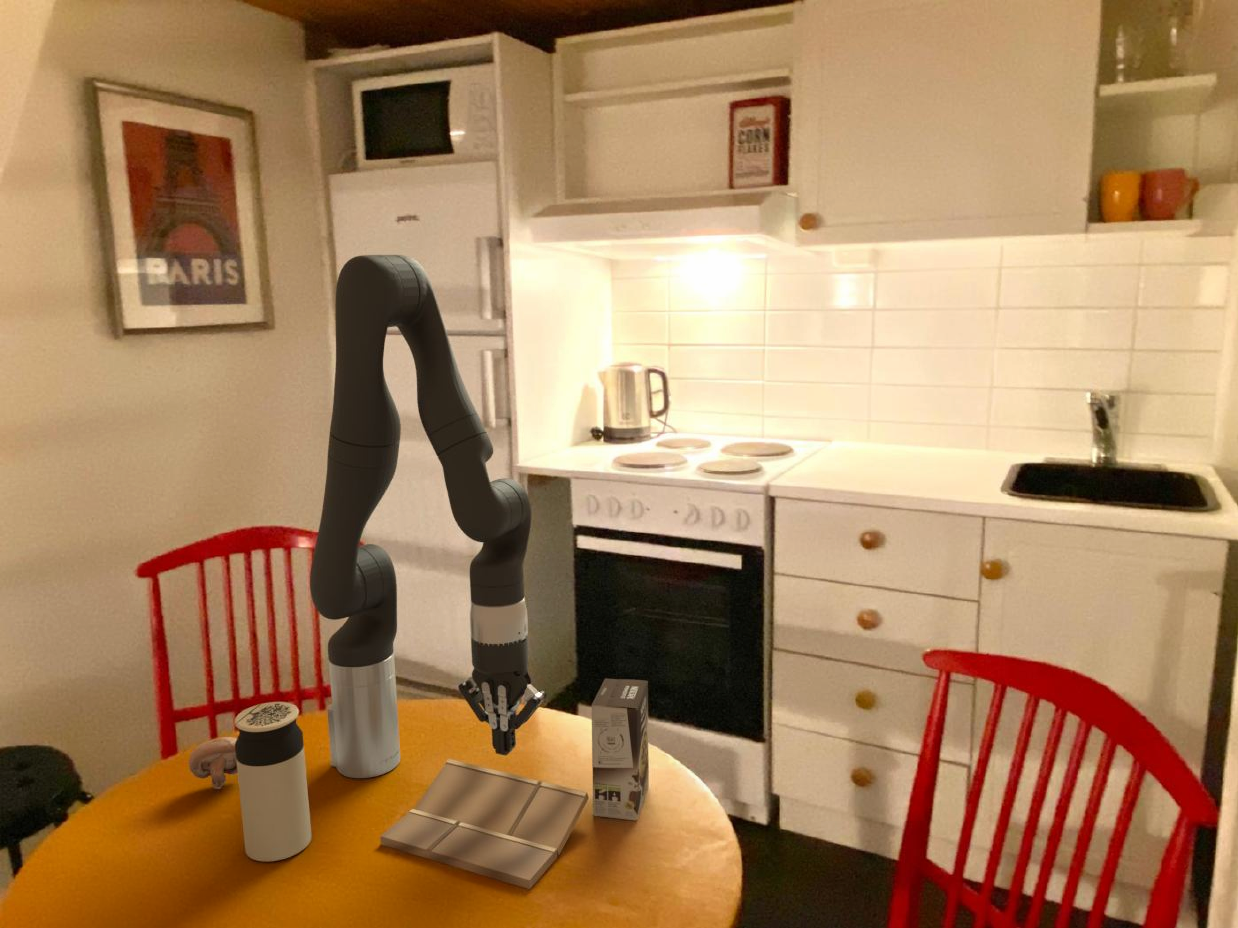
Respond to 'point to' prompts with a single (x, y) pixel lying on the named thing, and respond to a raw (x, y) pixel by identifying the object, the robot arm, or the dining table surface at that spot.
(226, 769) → the mushroom
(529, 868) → the laid plank
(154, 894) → the dining table surface
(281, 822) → the travel mug
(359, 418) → the robot arm
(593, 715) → the coffee box
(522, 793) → the board
